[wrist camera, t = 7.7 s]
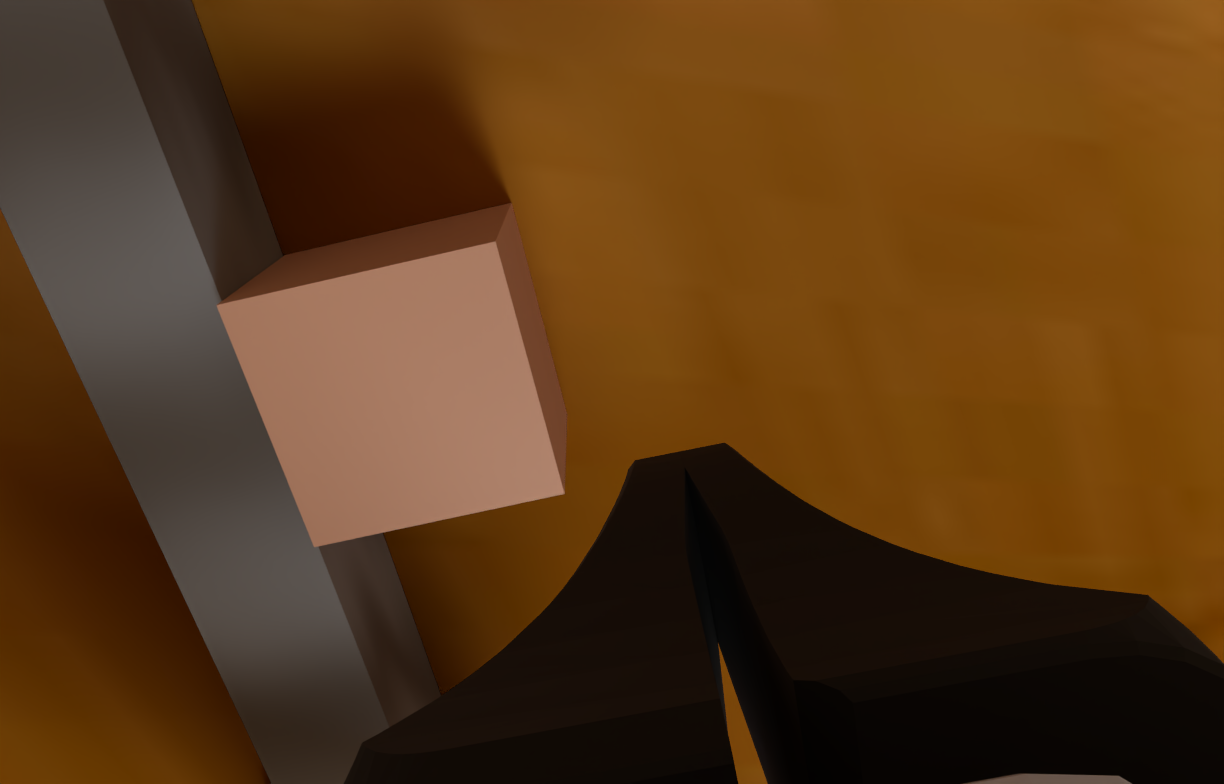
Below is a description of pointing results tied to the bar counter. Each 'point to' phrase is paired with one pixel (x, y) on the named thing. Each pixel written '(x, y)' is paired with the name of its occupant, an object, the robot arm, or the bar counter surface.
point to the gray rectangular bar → (192, 366)
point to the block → (404, 375)
